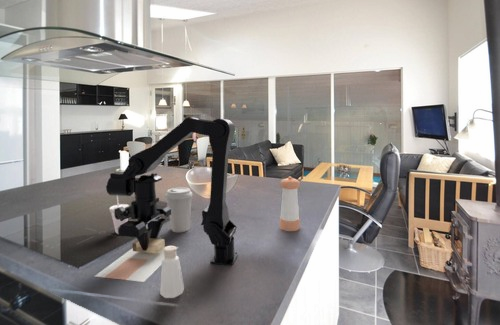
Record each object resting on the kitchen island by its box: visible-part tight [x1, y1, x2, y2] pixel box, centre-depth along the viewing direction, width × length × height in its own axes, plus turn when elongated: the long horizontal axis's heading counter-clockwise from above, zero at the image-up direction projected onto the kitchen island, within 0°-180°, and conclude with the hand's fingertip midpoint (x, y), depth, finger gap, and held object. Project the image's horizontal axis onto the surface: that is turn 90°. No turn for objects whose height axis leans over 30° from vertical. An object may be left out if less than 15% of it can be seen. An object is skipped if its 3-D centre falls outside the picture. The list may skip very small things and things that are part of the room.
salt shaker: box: [279, 175, 301, 232], centre depth 100 cm, size 7×7×19 cm
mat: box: [94, 245, 180, 283], centre depth 78 cm, size 19×14×1 cm
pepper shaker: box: [159, 245, 185, 299], centre depth 62 cm, size 5×5×11 cm
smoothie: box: [109, 196, 130, 235], centre depth 97 cm, size 6×6×14 cm
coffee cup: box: [164, 186, 194, 233], centre depth 99 cm, size 10×10×15 cm
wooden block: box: [132, 238, 166, 253], centre depth 82 cm, size 8×4×2 cm, turn 79°
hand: (149, 247), depth 82 cm, fingers closed on wooden block, 4 cm apart
